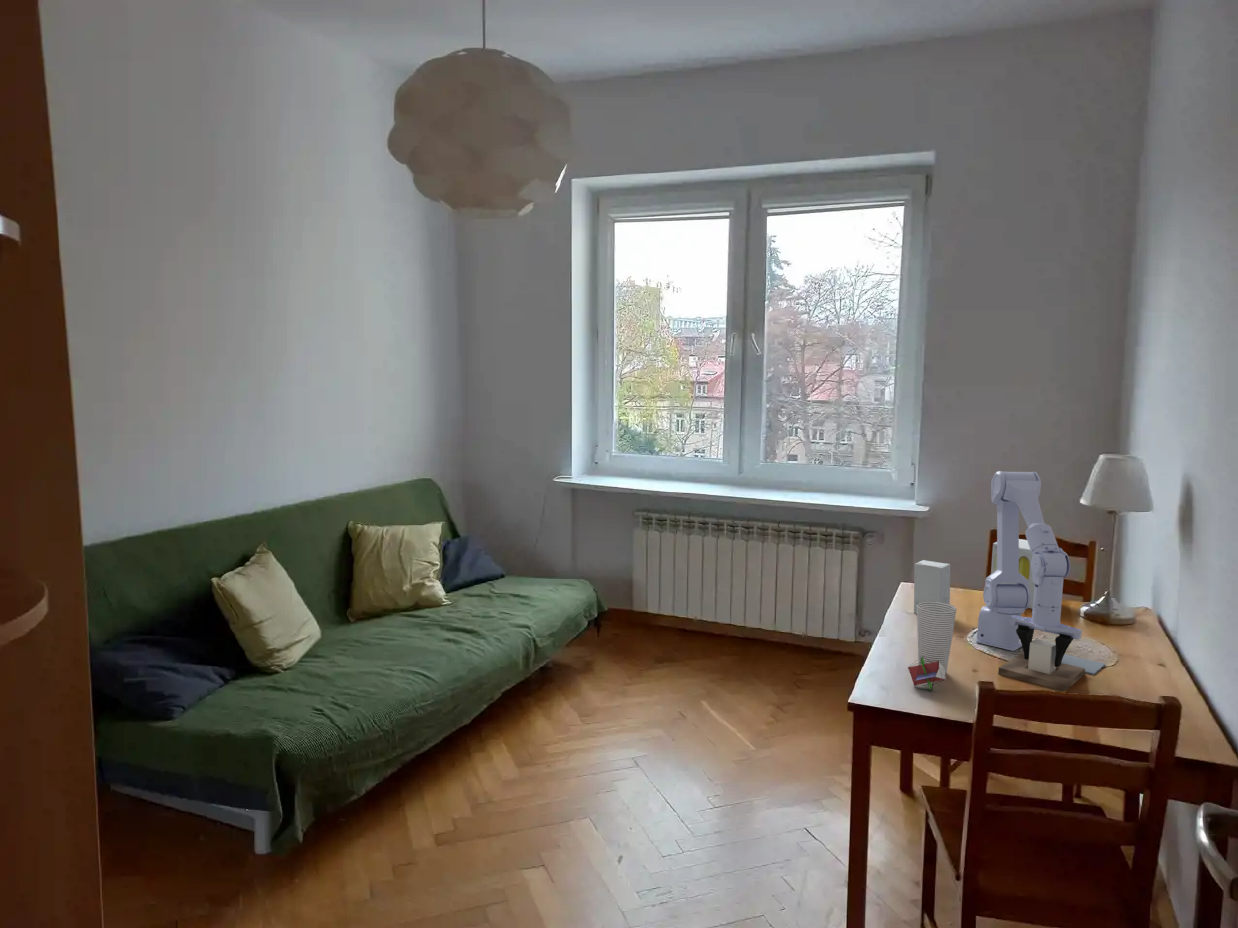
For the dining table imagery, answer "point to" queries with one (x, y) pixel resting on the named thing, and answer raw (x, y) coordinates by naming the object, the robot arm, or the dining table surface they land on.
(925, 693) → the dining table surface
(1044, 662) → the cream block
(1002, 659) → the dining table surface
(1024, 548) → the supplement box
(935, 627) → the cup
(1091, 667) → the slate mat
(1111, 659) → the dining table surface
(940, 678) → the geometric puzzle
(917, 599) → the skincare box
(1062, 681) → the pocket board
